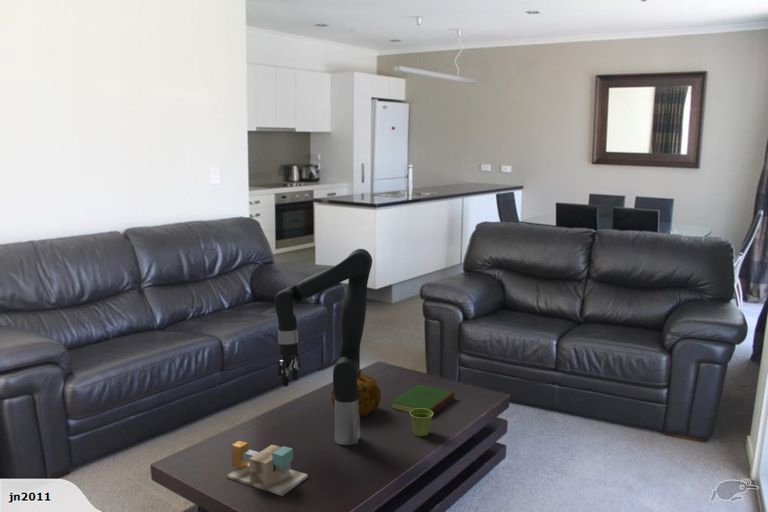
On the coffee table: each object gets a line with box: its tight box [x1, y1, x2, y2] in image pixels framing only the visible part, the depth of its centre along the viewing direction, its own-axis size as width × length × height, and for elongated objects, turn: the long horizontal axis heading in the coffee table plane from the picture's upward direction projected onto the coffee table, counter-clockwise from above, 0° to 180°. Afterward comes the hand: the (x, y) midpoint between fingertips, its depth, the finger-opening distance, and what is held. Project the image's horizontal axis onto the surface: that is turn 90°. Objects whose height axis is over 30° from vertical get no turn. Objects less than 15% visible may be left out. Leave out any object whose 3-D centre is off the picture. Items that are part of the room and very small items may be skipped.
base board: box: [226, 464, 309, 497], centre depth 220 cm, size 24×14×1 cm, turn 61°
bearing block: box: [249, 444, 284, 486], centre depth 219 cm, size 7×12×9 cm, turn 151°
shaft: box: [231, 440, 292, 473], centre depth 220 cm, size 23×4×8 cm, turn 61°
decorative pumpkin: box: [330, 369, 382, 418], centre depth 273 cm, size 20×21×20 cm
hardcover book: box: [391, 384, 455, 415], centre depth 285 cm, size 25×19×4 cm
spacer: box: [272, 445, 294, 467], centre depth 215 cm, size 4×6×4 cm, turn 151°
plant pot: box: [409, 408, 434, 437], centre depth 254 cm, size 9×9×9 cm
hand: (290, 383), depth 244 cm, fingers open, 8 cm apart
